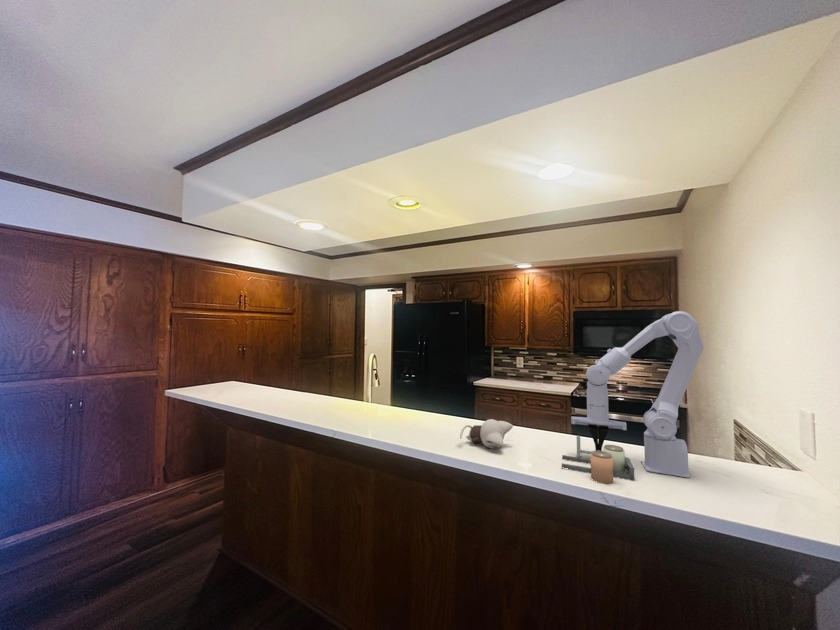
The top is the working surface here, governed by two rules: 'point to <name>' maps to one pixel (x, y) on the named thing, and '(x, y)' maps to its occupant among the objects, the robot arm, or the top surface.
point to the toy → (488, 433)
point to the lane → (628, 468)
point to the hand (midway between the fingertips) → (598, 451)
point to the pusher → (580, 448)
